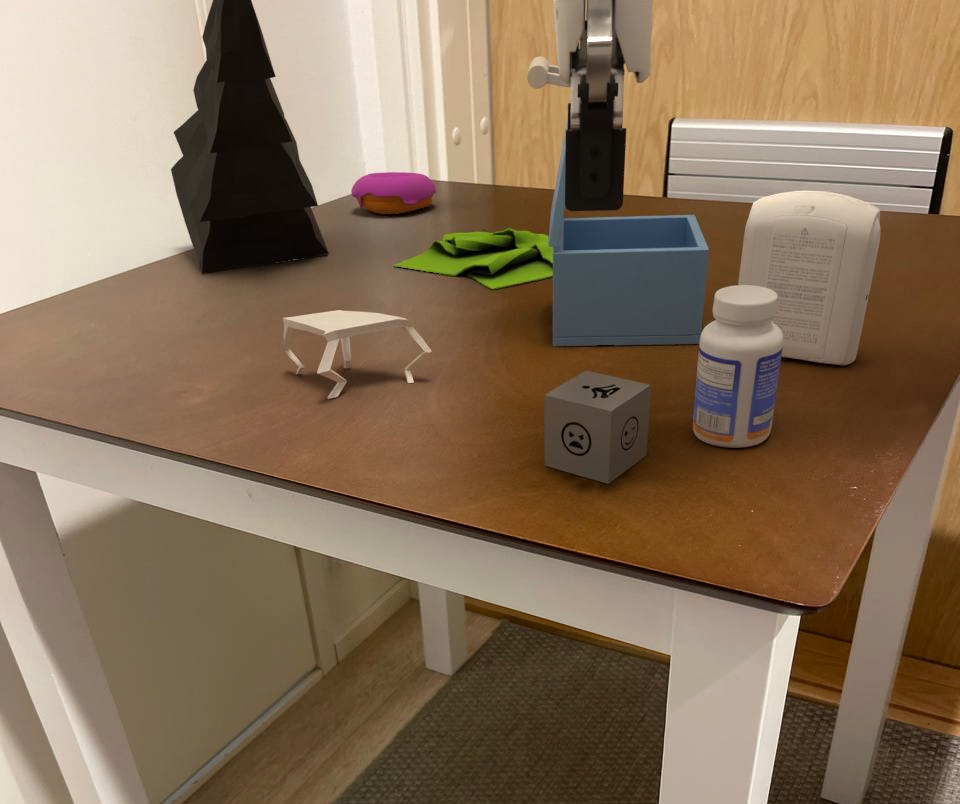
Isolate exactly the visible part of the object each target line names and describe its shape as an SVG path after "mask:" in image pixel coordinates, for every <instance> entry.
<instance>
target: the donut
mask: <svg viewBox="0 0 960 804" xmlns="http://www.w3.org/2000/svg"><path fill="white" fill-rule="evenodd" d="M350 192H351V196H352V198H355V199H356V200H357V203H358V205H359V207H360V208H363V209H365V210H367V211H369V212H372V213H375V214H379V215H385V214H397V215H399V214H398V213H404V214H406V213H405V212H408V213H410V212H409V211H412V212H415V211H418V210H417V209H419V210H421V209H420V208H422V209H425V208H424V207H426V208H428V207H429V206H431V205H432V203H433V196H434V194H436V193H437V189H436V186H435V183H434V181H433V180H432V179H431V178H430V177H429V176H427V175H425V174H422V173H417V172H407V171H406V172H405V171H404V172H403V171H402V172H399V171H393V172H392V171H390V172H389V171H388V172H386V171H385V172H373V173H368V174H365V175H363V176H361V177H359V178H358V179H357V180H356V181H355V182H354V184H353V185H352V188H351V191H350ZM427 206H428V207H427ZM414 210H415V211H414Z"/></svg>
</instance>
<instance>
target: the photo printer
mask: <svg viewBox="0 0 960 804" xmlns="http://www.w3.org/2000/svg"><path fill="white" fill-rule="evenodd" d="M880 223H881V209H880V208H879V207H876V206H875V205H873V204H871V203H869V202H866V201H865V200H861V199H859V198H856V197H853V196H850V195H846V194H842V193H837V192H831V191H824V190H793V191H785V192H780V193H774V194H771V195H767V196H764V197H760V198H758V199H757V200H756V201H754V202H753V203H752V206H751V208H750V211H749V215H748V218H747V221H746V224H745V227H744V233H743V243H742V250H741V259H740V267H739V274H738V281H737V285H752V286H760V287H765V288H768V289H771V290H773V291H775V292H776V293H777V295H778V300H777V312H776V315H775V318H774V319H773V320H771V322H772V323H774V324H776V325H777V326H778V327H779V328H780V330H781V331H782V334H783V348H782V355H781V358H788V359H794V360H800V361H808V362H813V363H820V364H829V365H837V366H841V367H842V366H843V367H844V366H847V365H851V364H852V363H854V362H855V361H856V359H857V355H858V350H859V346H860V345H859V344H860V341H861V336H862V332H863V327H864V321H865V318H866V317H865V316H866V312H867V308H868V302H869V296H870V292H871V288H872V282H873V277H874V273H875V267H876V263H877V257H878V252H879V248H880V242H881V231H882V230H881V224H880Z"/></svg>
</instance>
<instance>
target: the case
mask: <svg viewBox="0 0 960 804" xmlns="http://www.w3.org/2000/svg"><path fill="white" fill-rule="evenodd" d="M709 254H710V249H709V246H708V244H707V241H706V238H705V237H704V234H703V232H702V229H701V227H700V225H699V222H698V220H697V217H696V215H695V214H675V215H671V214H670V215H638V216H637V215H636V216H604V217H601V216H599V217H598V216H597V217H567V218H566V217H565V218H564V217H563V222H562V227H561V233H560V238H559V243H558V247H557V248H555V247H553V277H552V347H597V345H614V346H659V345H660V346H665V345H666V346H667V345H669V346H670V345H671V346H672V345H676V344H677V345H699V344H700V336H701V333H702V331H703V321H704V311H705V310H704V308H705V299H706V289H707V288H706V287H707V278H708V266H709V258H710V257H709V256H710V255H709Z"/></svg>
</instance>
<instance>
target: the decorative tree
mask: <svg viewBox="0 0 960 804" xmlns="http://www.w3.org/2000/svg"><path fill="white" fill-rule="evenodd" d="M201 38H202V41H203V45H204V47H205V59H206V60H205V61H204V64H203V65H202V67H201V69H200V70H199V72H198V73H197V75H196V78H195V81H194V85H193V90H192V91H193V95H194V101H195V104H196V108H197V110H196V111H195V112H194V113H193V114H192V115H191V116H190V117H189V118H188V119H186V120H185V121H184V123H182V124H181V125H180V126H179V127H177V128H176V129H175V130H174V131H173V135H174V138H175V140H176V142H177V144H178V147H179V150H180V151H181V155H182V156H181V157H180V159H178V160H177V161H176V163H175V164H174V165H173V166H172V167H171V169H170V173H171V177H172V180H173V185H174V190H175V194H176V197H177V201H178V204H179V207H180V210H181V214H182V217H183V220H184V223H185V227H186V229H187V233H188V236H189V239H190V242H191V245H192V247H193V251H194V254H195V257H196V260H197V263H198V265H199V269H200V272H201V275H205V274H210V273H214V272H218V271H224V270H228V269H233V268H234V269H236V268H245V267H255V266H262V265H271V264H277V263H276V262H280V263H283V262H282V261H287V262H289V261H288V260H293V259H300V260H303V259H302V258H305V259H309V258H315V257H321V256H324V255H329V254H330V252H329V249H328V247H327V245H326V242H325V240H324V239H325V238H324V237H323V234H322V232H321V229H320V227H319V225H318V221H317V219H316V217H315V214H314V212H313V209H312V208H314V207H319V205H318V200H317V198H316V194H315V190H314V187H313V185H312V183H311V181H310V178H309V176H308V174H307V172H306V169H305V167H304V166H303V164H302V161H301V160H300V154H299V148H298V142H297V140H296V138H295V135H294V134H293V131H292V129H291V127H290V125H289V123H288V121H287V119H286V117H285V112H284V109H283V107H282V104H281V102H280V99H279V97H278V94H277V92H276V89H275V86H274V84H273V81H272V78H276V77H277V76H276V73H275V70H274V67H273V64H272V60H271V57H270V54H269V50H268V46H267V44H266V41H265V37H264V34H263V31H262V27H261V24H260V22H259V19H258V16H257V13H256V10H255V7H254V4H253V1H252V0H212V2H211V5H210V8H209V11H208V15H207V18H206V21H205V25H204V29H203V33H202V36H201ZM204 273H205V274H204Z"/></svg>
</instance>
